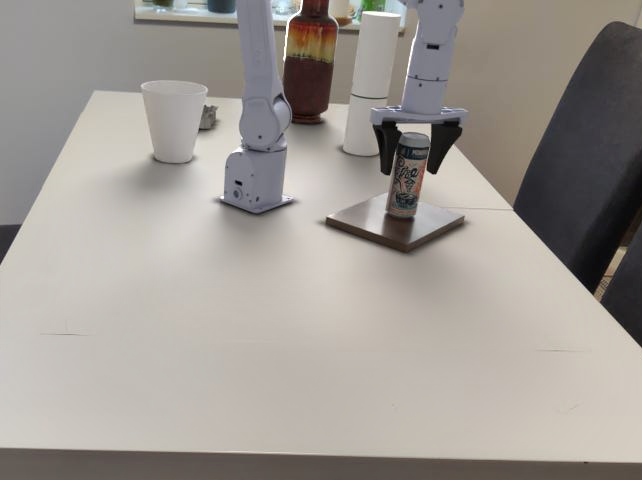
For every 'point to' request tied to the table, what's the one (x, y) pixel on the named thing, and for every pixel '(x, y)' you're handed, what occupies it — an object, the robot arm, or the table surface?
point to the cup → (173, 117)
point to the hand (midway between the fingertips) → (408, 173)
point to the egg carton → (208, 117)
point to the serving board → (394, 223)
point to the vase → (309, 61)
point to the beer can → (407, 174)
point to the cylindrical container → (370, 79)
